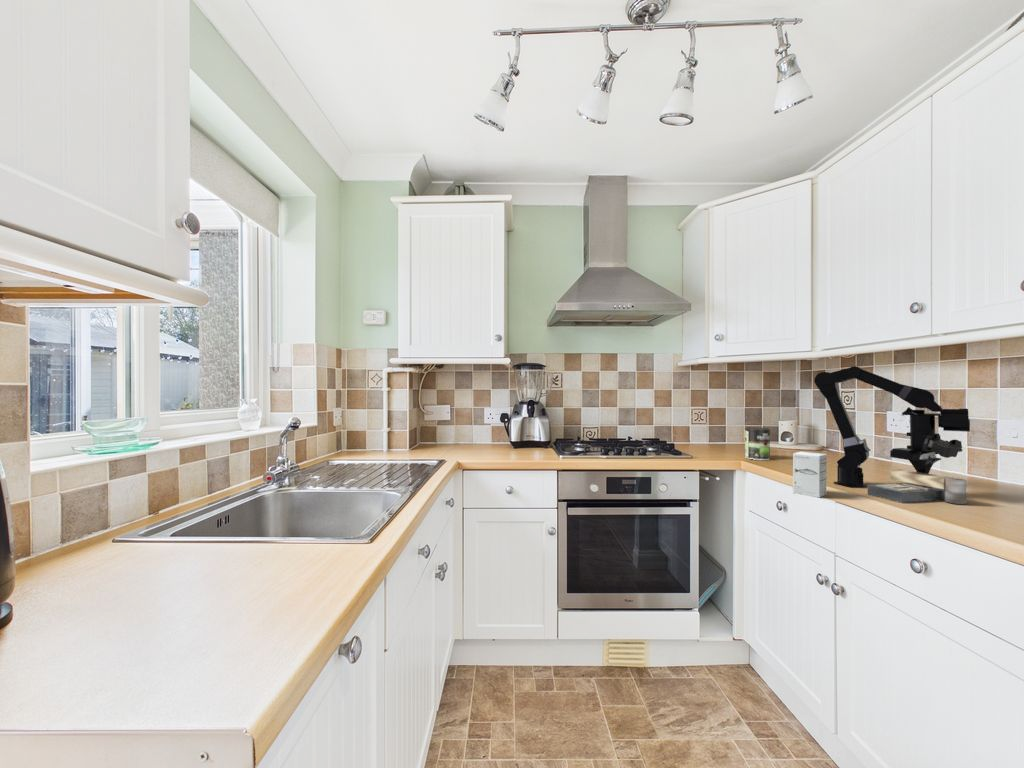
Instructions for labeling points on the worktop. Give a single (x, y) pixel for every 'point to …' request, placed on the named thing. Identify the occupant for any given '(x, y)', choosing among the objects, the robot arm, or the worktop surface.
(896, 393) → the robot arm
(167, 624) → the worktop surface
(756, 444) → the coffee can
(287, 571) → the worktop surface
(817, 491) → the supplement box
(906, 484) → the slab
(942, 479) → the notched beige block
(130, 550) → the worktop surface
